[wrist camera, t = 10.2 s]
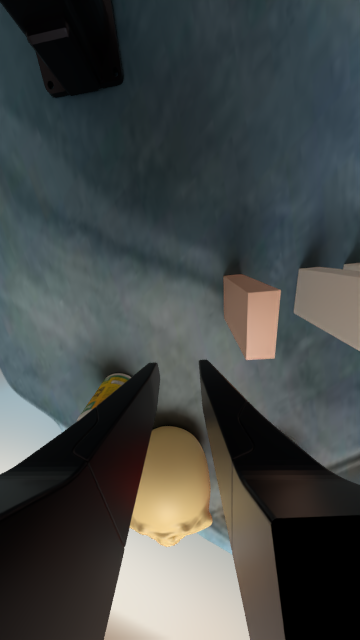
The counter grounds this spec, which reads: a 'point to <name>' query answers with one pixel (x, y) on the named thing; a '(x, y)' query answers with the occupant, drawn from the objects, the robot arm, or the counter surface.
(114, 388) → the supplement bottle
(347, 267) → the domino
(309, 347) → the counter surface
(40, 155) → the counter surface
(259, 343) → the domino
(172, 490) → the pale yellow round lump
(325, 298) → the domino
